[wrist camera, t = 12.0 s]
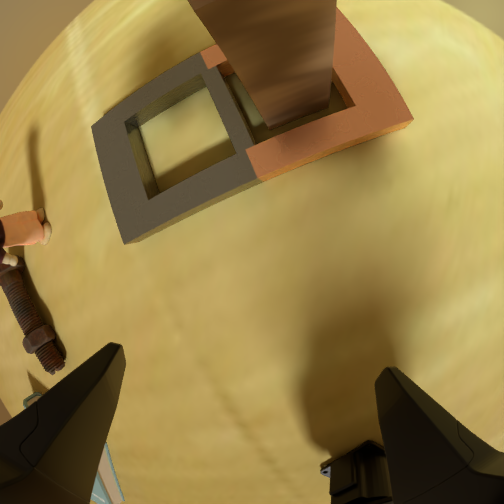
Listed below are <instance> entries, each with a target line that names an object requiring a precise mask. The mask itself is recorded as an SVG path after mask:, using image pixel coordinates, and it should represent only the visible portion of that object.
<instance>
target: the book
mask: <svg viewBox="0 0 504 504" xmlns="http://www.w3.org/2000/svg"><path fill="white" fill-rule="evenodd" d="M41 396H42V394H40V393H39V392H35V393H34V394H32V395H30V396H29V397H27V398H26V399H24V402H23V406H24V408H25V409H26V408H27V407H28V406H30V405H31V404H32V403H33V402H34V401H37V399H38V398H40V397H41ZM91 499H92V500H93V501H95V502H96V503H98V504H120V503H121V502H122V500H123V501H125V500H124V497H123V494H122V492H121V489H120V486H119V483H118V480H117V477H116V474H115V471H114V467H113V464H112V461H111V457H110V453H109V450H108V446H107V442H106V443H105V446H104V449H103V453H102V456H101V460H100V464H99V467H98V471H97V475H96V479H95V483H94V487H93V491H92V495H91Z"/></svg>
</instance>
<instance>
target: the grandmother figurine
mask: <svg viewBox="0 0 504 504" xmlns="http://www.w3.org/2000/svg"><path fill="white" fill-rule="evenodd" d="M2 207H3V202H2V201H1V200H0V209H2ZM44 216H45V214H44V210H43V208H39V209H38V210H36V211H34V210H33V211H25V212H18V213H15V214H12V215H8V216H4V217H1V218H0V264H2V263H4V264H10V265H11V266H16V265H17V263H18V258H17V256H15V255H10V254H9V253H6V251H5V250H4V249H3V248H5V247H11V246H15V245H32V244H36V242H38V241H39V242H40V243H41V244H43V245H46V244H47V243H48V241H49V238H50V235H51V226H50V224H49V223H48V222H46V223H45V224H44V225H43V226H42V225H41V223H42V222H43V220H44Z"/></svg>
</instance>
